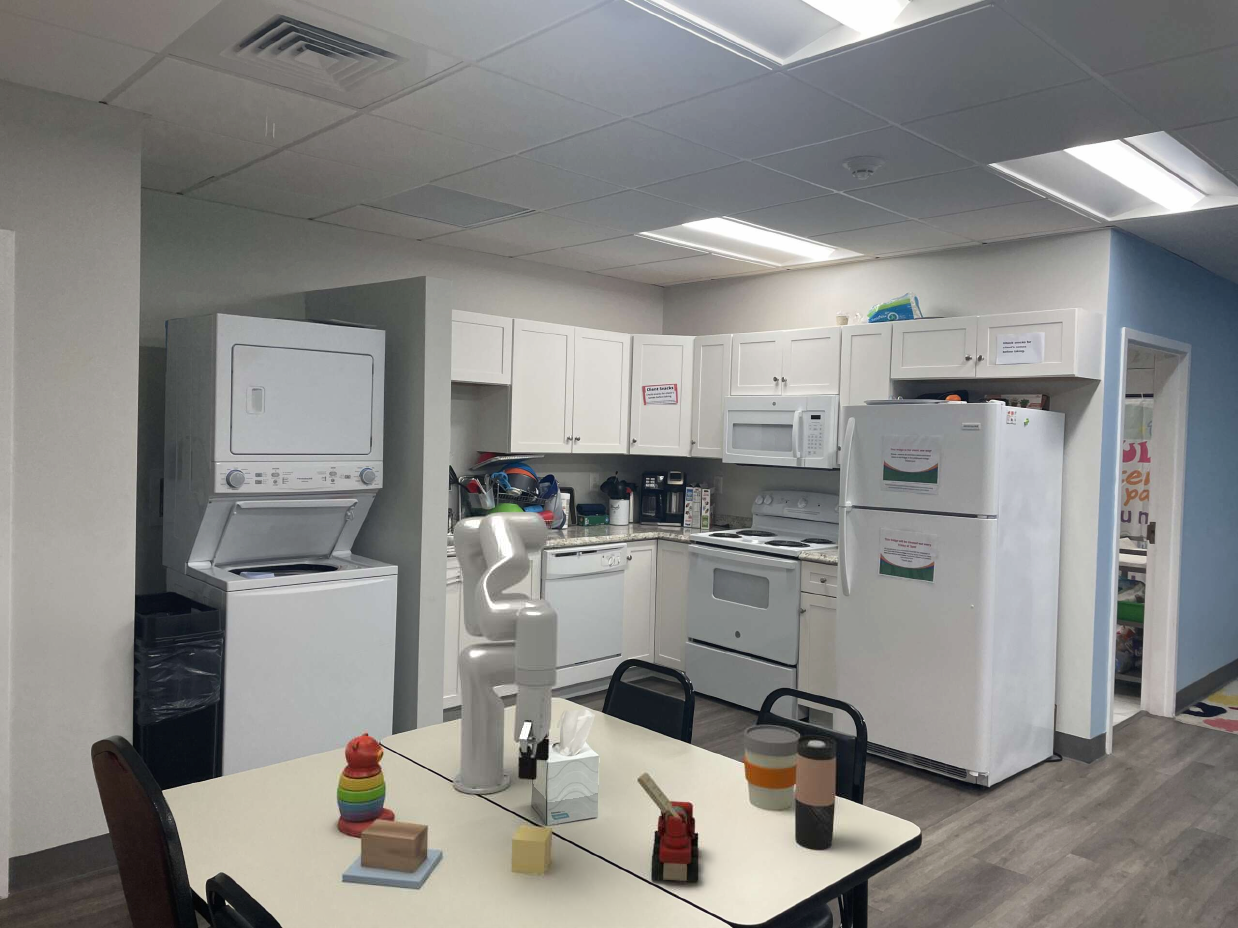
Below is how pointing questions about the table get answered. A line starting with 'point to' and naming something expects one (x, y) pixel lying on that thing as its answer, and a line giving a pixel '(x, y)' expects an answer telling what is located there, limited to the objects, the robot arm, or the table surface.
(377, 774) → the stacking bear
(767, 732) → the reusable coffee cup
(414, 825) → the long brick
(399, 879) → the base board
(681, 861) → the toy fire truck
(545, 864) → the cube brick
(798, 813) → the travel mug
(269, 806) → the table surface
